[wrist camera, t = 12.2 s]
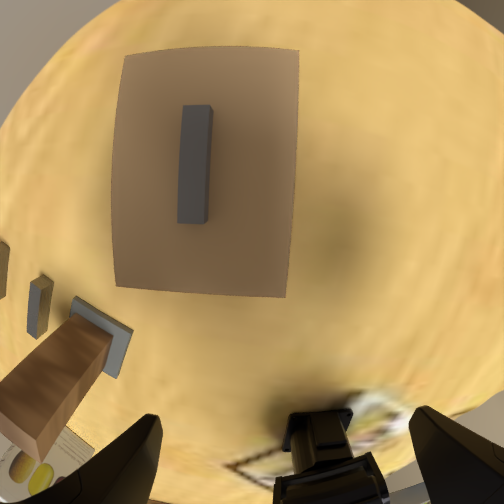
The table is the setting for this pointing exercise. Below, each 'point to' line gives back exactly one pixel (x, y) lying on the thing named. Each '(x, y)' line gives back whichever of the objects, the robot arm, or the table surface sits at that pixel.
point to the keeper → (30, 296)
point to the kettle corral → (411, 495)
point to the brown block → (51, 385)
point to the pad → (112, 327)
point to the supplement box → (41, 467)
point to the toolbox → (205, 170)
